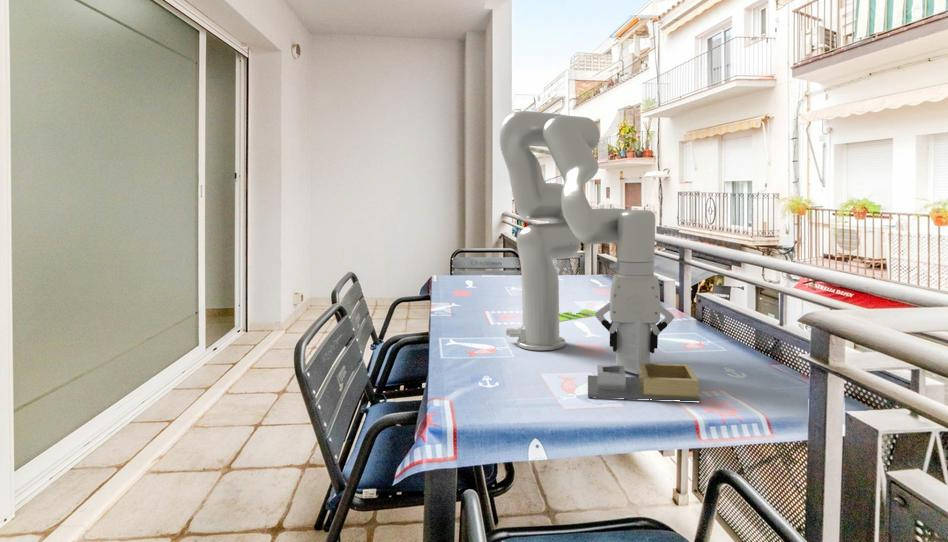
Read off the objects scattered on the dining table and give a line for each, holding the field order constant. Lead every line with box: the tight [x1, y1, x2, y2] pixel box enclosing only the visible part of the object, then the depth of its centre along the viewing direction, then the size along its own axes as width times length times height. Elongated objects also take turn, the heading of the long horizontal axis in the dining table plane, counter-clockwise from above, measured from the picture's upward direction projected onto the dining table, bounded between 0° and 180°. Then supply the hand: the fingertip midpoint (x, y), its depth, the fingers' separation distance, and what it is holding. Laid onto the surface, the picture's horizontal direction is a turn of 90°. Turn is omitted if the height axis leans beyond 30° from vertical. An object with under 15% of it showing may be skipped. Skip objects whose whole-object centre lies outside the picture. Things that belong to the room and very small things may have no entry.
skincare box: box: [615, 319, 652, 375], centre depth 113 cm, size 6×4×12 cm
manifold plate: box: [587, 363, 701, 402], centre depth 103 cm, size 20×11×4 cm, turn 78°
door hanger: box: [559, 309, 597, 323], centre depth 171 cm, size 9×1×25 cm
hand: (633, 350), depth 113 cm, fingers closed on skincare box, 7 cm apart
